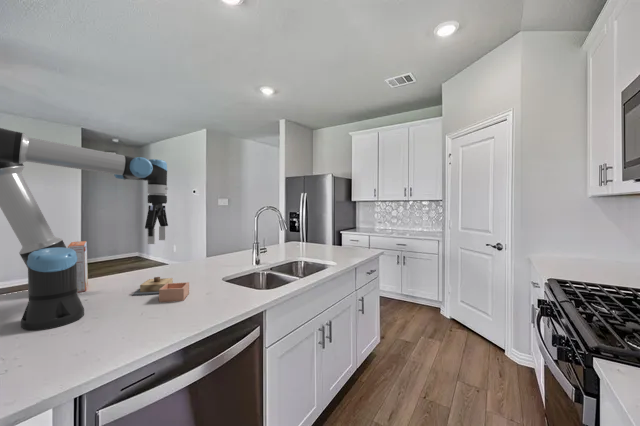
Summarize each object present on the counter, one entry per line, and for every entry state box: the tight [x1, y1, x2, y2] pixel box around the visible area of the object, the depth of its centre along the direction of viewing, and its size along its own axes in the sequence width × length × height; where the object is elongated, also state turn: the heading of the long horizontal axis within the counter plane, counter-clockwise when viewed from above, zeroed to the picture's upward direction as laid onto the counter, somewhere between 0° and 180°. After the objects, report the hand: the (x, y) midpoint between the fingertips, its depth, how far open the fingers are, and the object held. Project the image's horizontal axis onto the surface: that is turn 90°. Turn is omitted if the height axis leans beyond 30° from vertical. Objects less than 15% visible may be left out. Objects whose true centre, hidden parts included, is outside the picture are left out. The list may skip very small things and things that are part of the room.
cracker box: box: [67, 240, 89, 293], centre depth 126 cm, size 14×6×21 cm, turn 37°
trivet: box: [132, 288, 159, 297], centre depth 126 cm, size 14×14×1 cm
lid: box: [139, 276, 174, 292], centre depth 126 cm, size 10×10×5 cm
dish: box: [158, 281, 190, 303], centre depth 116 cm, size 9×9×5 cm
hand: (157, 242), depth 126 cm, fingers open, 13 cm apart
